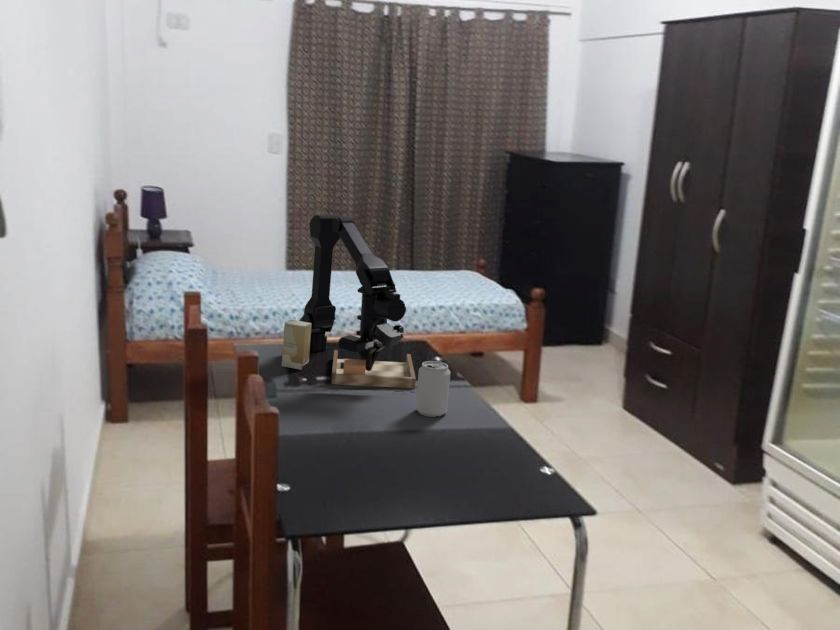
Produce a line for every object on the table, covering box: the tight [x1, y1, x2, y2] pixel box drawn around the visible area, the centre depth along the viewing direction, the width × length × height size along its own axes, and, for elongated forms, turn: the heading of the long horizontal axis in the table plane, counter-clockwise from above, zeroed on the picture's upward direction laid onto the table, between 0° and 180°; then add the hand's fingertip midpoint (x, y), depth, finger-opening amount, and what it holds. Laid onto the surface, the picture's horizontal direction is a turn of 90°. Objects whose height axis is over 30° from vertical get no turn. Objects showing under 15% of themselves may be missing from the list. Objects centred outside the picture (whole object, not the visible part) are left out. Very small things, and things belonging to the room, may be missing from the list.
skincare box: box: [281, 319, 312, 371], centre depth 228 cm, size 6×4×12 cm
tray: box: [330, 349, 417, 393], centre depth 225 cm, size 21×22×4 cm
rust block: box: [342, 358, 366, 375], centre depth 218 cm, size 6×6×4 cm
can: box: [415, 360, 451, 418], centre depth 201 cm, size 8×8×12 cm
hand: (368, 370), depth 223 cm, fingers closed
